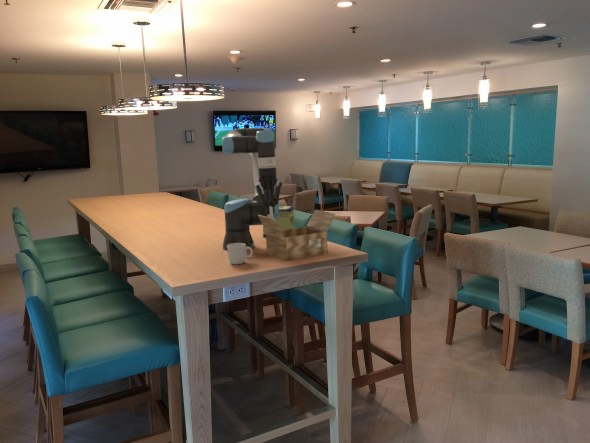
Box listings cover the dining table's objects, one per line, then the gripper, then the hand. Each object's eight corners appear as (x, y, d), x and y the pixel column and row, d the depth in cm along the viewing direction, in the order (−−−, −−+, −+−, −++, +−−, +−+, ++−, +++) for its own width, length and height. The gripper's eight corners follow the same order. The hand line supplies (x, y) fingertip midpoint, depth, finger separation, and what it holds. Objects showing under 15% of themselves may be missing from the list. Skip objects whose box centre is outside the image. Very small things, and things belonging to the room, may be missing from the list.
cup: (253, 260, 207) (253, 242, 206) (252, 264, 200) (251, 246, 198) (228, 261, 207) (227, 243, 206) (226, 265, 199) (225, 247, 198)
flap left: (283, 237, 203) (275, 219, 200) (266, 231, 217) (257, 215, 214) (284, 236, 203) (275, 219, 200) (266, 230, 217) (258, 214, 214)
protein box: (291, 237, 253) (290, 208, 251) (262, 237, 257) (261, 208, 254) (295, 234, 264) (294, 206, 261) (267, 233, 267) (266, 206, 264)
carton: (285, 261, 204) (285, 238, 202) (266, 253, 220) (265, 231, 218) (328, 253, 215) (327, 231, 214) (306, 246, 231) (306, 226, 229)
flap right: (326, 230, 214) (335, 213, 215) (306, 225, 228) (315, 209, 229) (326, 230, 214) (335, 213, 216) (307, 225, 228) (315, 209, 230)
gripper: (257, 168, 198) (261, 224, 202) (284, 166, 204) (287, 220, 208) (249, 168, 204) (253, 222, 208) (276, 165, 210) (279, 218, 215)
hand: (270, 221), depth 208 cm, fingers closed
